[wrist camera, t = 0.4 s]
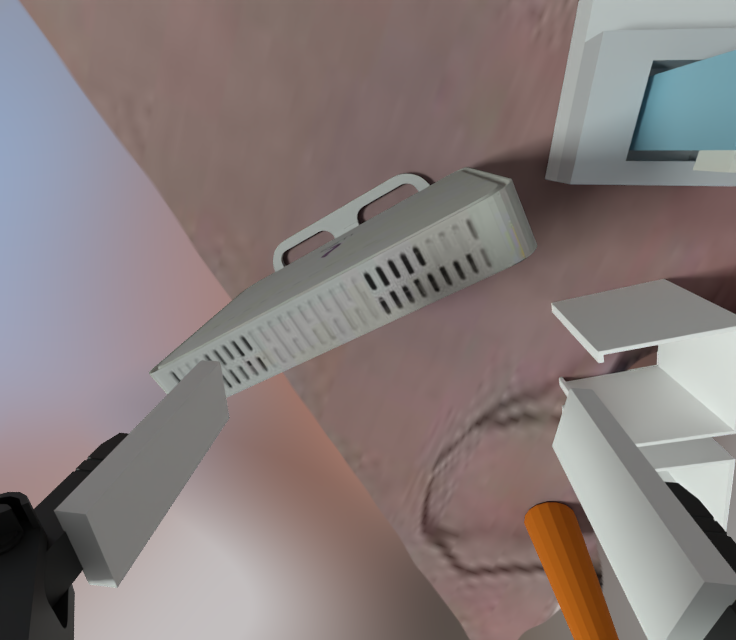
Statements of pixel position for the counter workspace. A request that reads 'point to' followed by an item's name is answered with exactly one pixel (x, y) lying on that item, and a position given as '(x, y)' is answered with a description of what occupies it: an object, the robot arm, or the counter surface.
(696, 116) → the plug
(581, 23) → the panel
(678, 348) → the storage container
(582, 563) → the spray bottle
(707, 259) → the counter surface
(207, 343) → the network device
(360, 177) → the counter surface
